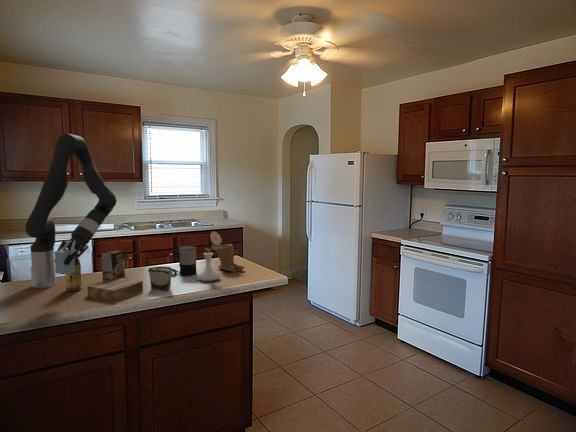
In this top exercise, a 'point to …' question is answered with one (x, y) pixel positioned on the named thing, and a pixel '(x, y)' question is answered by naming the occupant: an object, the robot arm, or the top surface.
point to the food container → (160, 278)
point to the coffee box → (113, 265)
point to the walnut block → (115, 289)
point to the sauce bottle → (74, 277)
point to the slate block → (59, 264)
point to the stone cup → (227, 258)
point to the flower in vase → (208, 272)
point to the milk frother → (186, 261)
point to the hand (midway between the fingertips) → (60, 263)
